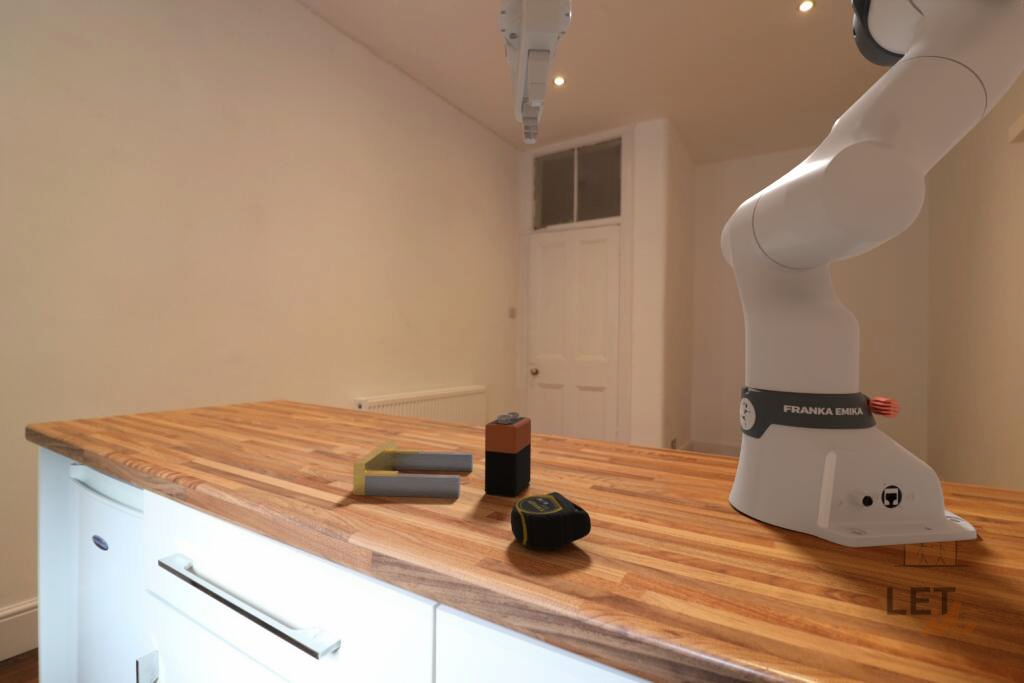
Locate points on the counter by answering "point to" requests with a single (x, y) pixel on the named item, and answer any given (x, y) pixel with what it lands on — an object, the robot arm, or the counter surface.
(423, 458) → the yellow grey u-shaped bracket
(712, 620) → the counter surface
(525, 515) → the tape measure
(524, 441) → the battery
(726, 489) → the counter surface
